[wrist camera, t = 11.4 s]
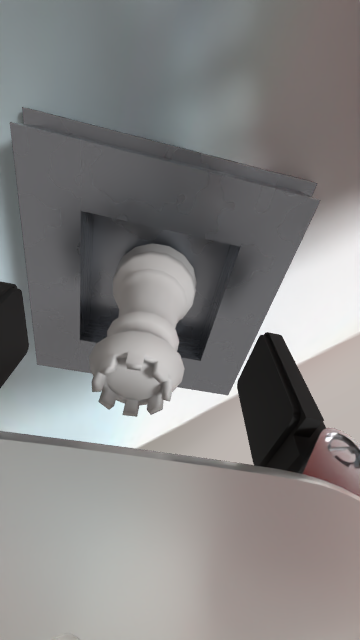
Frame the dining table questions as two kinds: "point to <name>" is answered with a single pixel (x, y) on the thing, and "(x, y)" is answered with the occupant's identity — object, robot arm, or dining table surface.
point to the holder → (150, 239)
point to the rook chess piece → (144, 330)
